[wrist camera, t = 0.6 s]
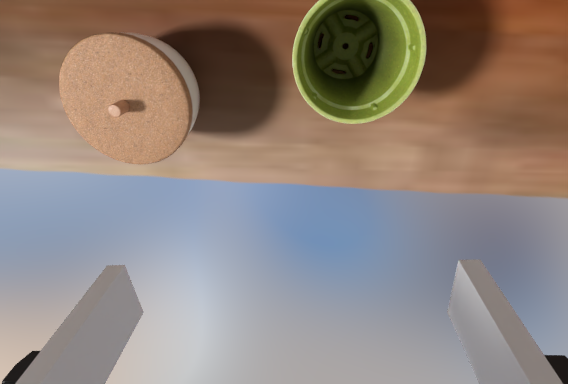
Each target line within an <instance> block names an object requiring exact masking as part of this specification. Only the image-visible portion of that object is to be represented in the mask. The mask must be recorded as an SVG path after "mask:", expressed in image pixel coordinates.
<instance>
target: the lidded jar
mask: <svg viewBox="0 0 568 384" xmlns="http://www.w3.org/2000/svg"><path fill="white" fill-rule="evenodd" d="M59 89H60V96H61V100H62V103H63V107H64V109H65V111H66V114H67V116H68V118H69V119H70V121H71V123H72V125H73V126H74V127H75V129H76V130H77V131H78V133H79V134H80V135H81V136H82V137H83V138H84V139H85V140H86V141H87V142H88V143H89V144H90V145H92V146H93V147H94V148H95V149H97V150H99V151H100V152H102V153H103V154H105V155H107V156H109V157H111V158H113V159H116V160H119V161H122V162H126V163H131V164H150V163H154V162H158V161H161V160H163V159H165V158H167V157H169V156H170V155H172V154H173V153H174V152H175V151H176V150H177V149H178V148H179V147H180V146H181V145H182V143H183V142H184V140H185V139H186V137H187V135H188V134H189V132H190V131H191V129H192V128H193V125H194V123H195V121H196V118H197V115H198V111H199V103H200V95H199V88H198V84H197V81H196V78H195V75H194V73H193V71H192V70H191V68H190V66H189V65H188V63H187V62H186V61H185V59H184V58H183V57H182V56H181V55H180V54H179V53H178V52H177V51H176V50H175V49H173V48H172V47H171V46H170V45H168V44H166V43H164V42H163V41H161V40H158V39H156V38H153V37H150V36H148V35H143V34H138V33H125V32H124V33H102V34H96V35H93V36H90V37H87V38H85V39H83V40H81V41H80V42H78V43H77V44H76V45H75V46H74V47H73V48H71V49H70V51H69V52H68V54H67V55H66V57H65V59H64V61H63V64H62V66H61V71H60V76H59Z"/></svg>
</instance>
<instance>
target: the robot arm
mask: <svg viewBox="0 0 568 384" xmlns="http://www.w3.org/2000/svg"><path fill="white" fill-rule="evenodd" d="M447 312H448V315H449V317H450V319H451V321H452V323H453V326H454V328H455V330H456V333H457V335H458V337H459V339H460V342H461V344H462V346H463V348H464V350H465V353H466V355H467V357H468V359H469V362H470V364H471V366H472V368H473V371H474V373H475V375H476V377H477V380H478V382H479V384H568V358H567V357H565V356H562V355H561V356H560V355H558V356H557V355H544V354H543V353H542V351H541V350H540V348H539V347H538V345H537V344H536V342H535V341H534V339H533V338H532V336H531V335H530V333H529V332H528V331H527V329H526V328H525V326H524V324H523V323H522V321H521V320H520V318H519V317H518V315H517V314H516V312H515V311H514V309H513V308H512V306H511V305H510V303H509V302H508V300H507V299H506V297H505V296H504V294H503V293H502V291H501V290H500V288H499V287H498V286H497V284H496V282H495V281H494V280H493V278H492V277H491V275H490V273H489V272H488V271H487V269H486V267H485V266H484V265H483V263H482V262H481V260H459V261H458V266H457V270H456V274H455V279H454V284H453V288H452V293H451V297H450V302H449V306H448V311H447ZM142 314H143V310H142V307H141V305H140V303H139V300H138V297H137V295H136V292H135V290H134V287H133V285H132V282H131V280H130V277H129V275H128V273H127V270H126V267H125V265H118V266H117V265H115V266H113V265H112V266H106V268H105V269H104V270H103V272H102V273H101V274H100V275H99V277H98V278H97V279H96V281H95V282H94V283H93V284H92V286H91V287H90V288H89V290H88V291H87V292H86V294H85V295H84V296H83V297H82V299H81V300H80V301H79V302H78V304H77V305H76V306H75V308H74V309H73V310H72V311H71V313H70V314H69V315H68V317H67V318H66V319H65V320H64V322H63V323H62V324H61V326H60V327H59V328H58V329H57V331H56V332H55V333H54V335H53V336H52V337H51V338H50V340H49V341H48V342H47V344H46V345H45V346H44V347H43V349H42V350H41V351H32V352H31V353H29V354H28V355H27V356H26V357H25V358H23V359H22V360H21V361H20V362H19V363H17V364H16V365H15V366H14V367H13V369H12V370H11V371H10V372H9V373H8V375H7V376H6V377H5V378H4V380H3V381H2V384H105V383H106V381H107V379H108V377H109V375H110V373H111V371H112V370H113V368H114V366H115V364H116V362H117V360H118V358H119V357H120V355H121V352H122V351H123V349H124V347H125V345H126V344H127V342H128V340H129V338H130V336H131V335H132V332H133V331H134V329H135V327H136V325H137V323H138V322H139V320H140V318H141V316H142Z"/></svg>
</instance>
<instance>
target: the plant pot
mask: <svg viewBox="0 0 568 384" xmlns="http://www.w3.org/2000/svg"><path fill="white" fill-rule="evenodd" d="M346 15H353V16H357V17H358V18H359V21H355V20H352V19H345V18H344V17H345V16H346ZM321 33H324V37H323V40H322V44H321V49H319V47H318V40H319V36H320V35H321ZM345 43H346V44H348V48H347V49H344V48H343V44H345ZM370 43H372V44H373V49H372V52H371V55H370V57H369V58H366V55H367V52H368V50H369V44H370ZM425 57H426V34H425V29H424V25H423V22H422V19H421V17H420V14H419V12H418V11H417V9H416V7H415V6H414V4H413V3H412V2H411V1H410V0H319V1H318V2H317V3H316V4H315V5H314V6H313V7H312V8H311V9H310V10H309V12H308V13H307V14H306V16H305V18H304V19H303V21H302V23H301V25H300V27H299V29H298V32H297V35H296V38H295V42H294V46H293V55H292V64H293V72H294V77H295V81H296V84H297V86H298V89H299V91H300V93H301V94H302V96H303V98H304V99H305V100H306V102H307V103H308V104H309V105H310V106H311V107H312V108H313V109H314V110H315V111H317V112H318V113H319V114H321V115H322V116H324V117H326V118H328V119H330V120H333V121H336V122H341V123H348V124H357V123H366V122H370V121H374V120H376V119H378V118H381V117H383V116H385V115H387V114H389V113H390V112H392V111H393V110H394V109H396V108H397V107H398V106H399V105H401V104H402V103H403V102H404V101H405V100H406V98H407V97H408V96H409V95H410V93H411V92H412V91H413V89H414V87H415V86H416V84H417V82H418V80H419V78H420V75H421V73H422V70H423V66H424V62H425ZM332 69H337V70H341V71H346V73H345V74H336V73H334V72H332Z"/></svg>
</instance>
